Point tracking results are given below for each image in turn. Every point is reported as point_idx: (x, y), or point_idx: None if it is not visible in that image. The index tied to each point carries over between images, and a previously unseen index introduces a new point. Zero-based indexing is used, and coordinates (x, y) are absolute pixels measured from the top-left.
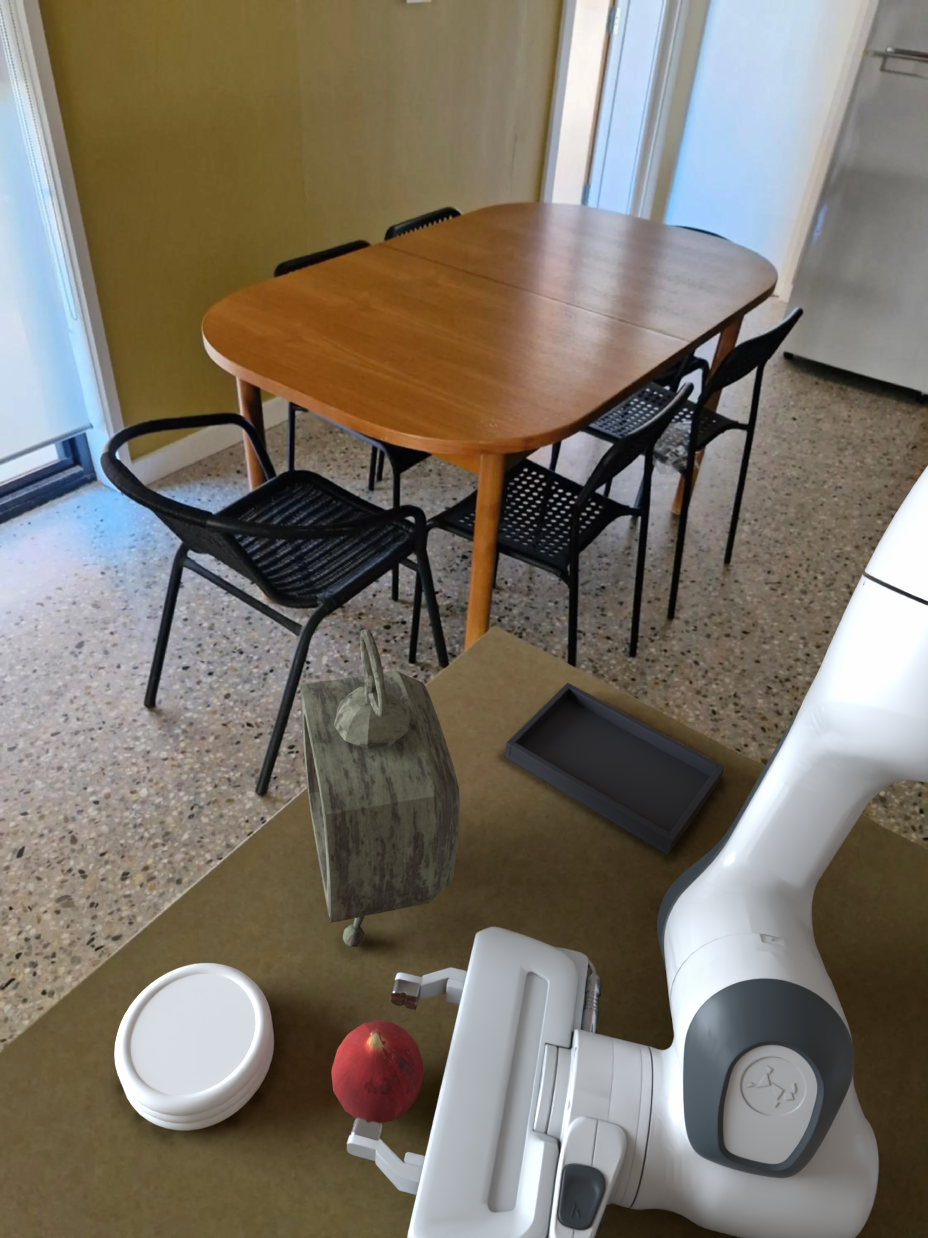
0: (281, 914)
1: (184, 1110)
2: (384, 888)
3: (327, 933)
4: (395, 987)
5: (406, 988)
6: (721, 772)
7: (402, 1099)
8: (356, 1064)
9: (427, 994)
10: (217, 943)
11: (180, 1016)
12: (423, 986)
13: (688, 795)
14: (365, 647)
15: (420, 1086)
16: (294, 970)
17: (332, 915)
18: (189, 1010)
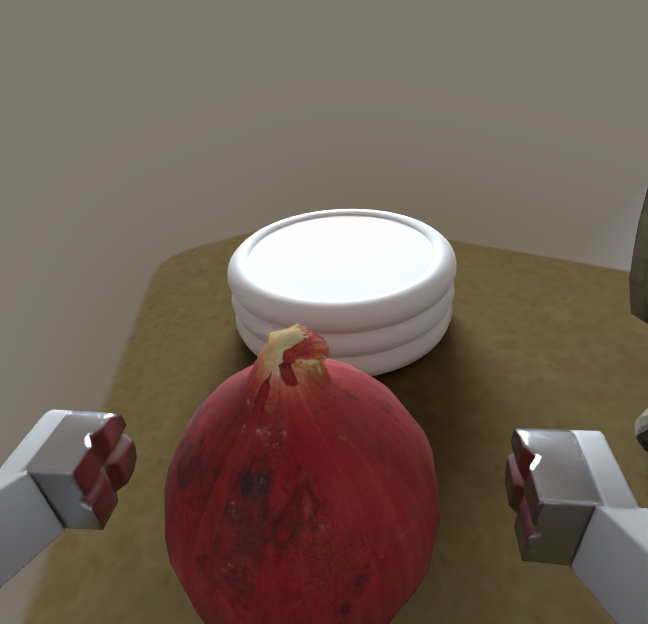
0: (612, 337)
1: (229, 271)
2: None
3: (635, 404)
4: (537, 429)
5: (553, 458)
6: None
7: (185, 555)
8: (248, 367)
9: (603, 586)
10: (508, 291)
11: (357, 238)
12: (605, 523)
13: None
14: None
15: None
16: (524, 376)
17: (636, 258)
18: (369, 242)
